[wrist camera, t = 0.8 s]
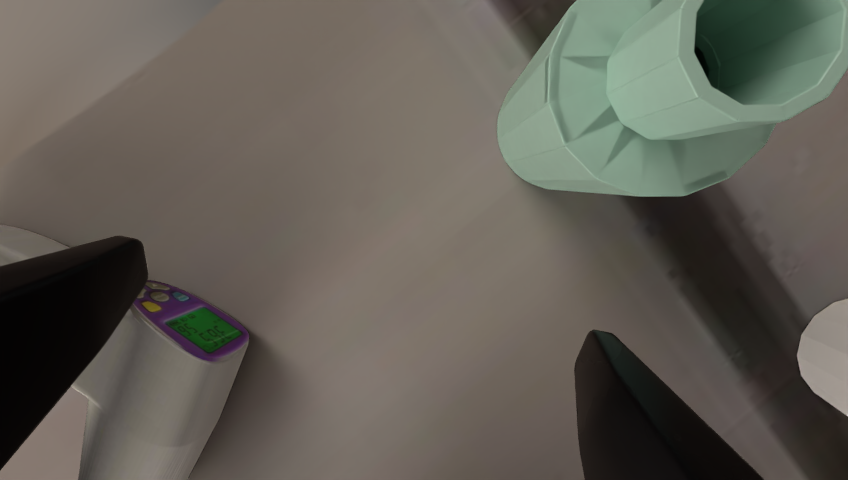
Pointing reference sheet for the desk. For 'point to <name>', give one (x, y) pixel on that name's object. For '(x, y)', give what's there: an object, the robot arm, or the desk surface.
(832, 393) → the shot glass
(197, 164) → the desk surface
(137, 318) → the infrared thermometer
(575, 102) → the water bottle
